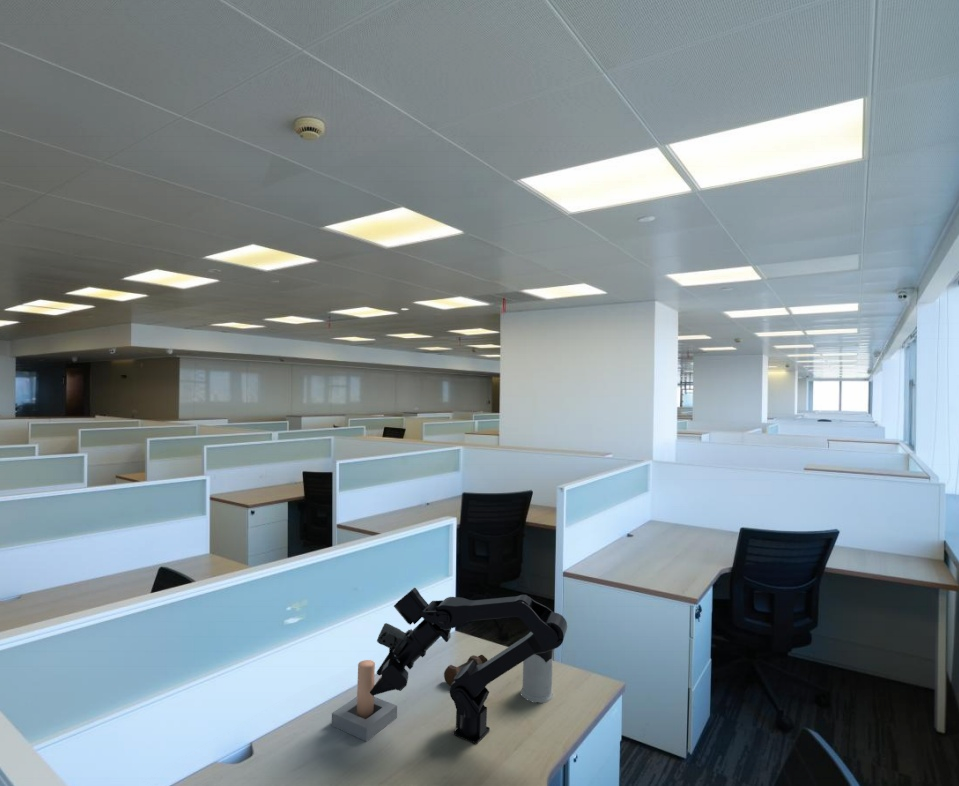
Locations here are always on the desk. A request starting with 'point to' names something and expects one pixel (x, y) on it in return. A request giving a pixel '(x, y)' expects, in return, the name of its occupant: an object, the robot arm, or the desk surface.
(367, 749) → the desk surface
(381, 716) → the socket block
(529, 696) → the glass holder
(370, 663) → the peg
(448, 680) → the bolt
